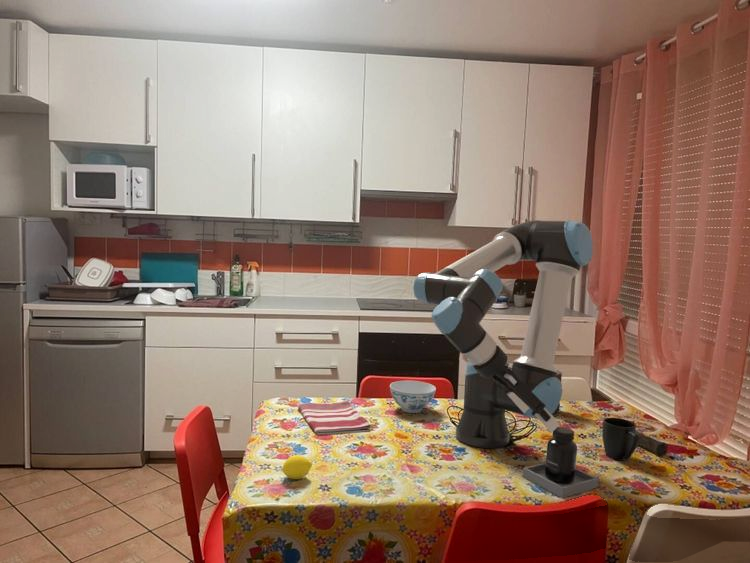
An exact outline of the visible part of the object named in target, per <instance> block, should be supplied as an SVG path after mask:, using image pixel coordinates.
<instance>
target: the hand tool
mask: <svg viewBox="0 0 750 563" xmlns="http://www.w3.org/2000/svg"><path fill="white" fill-rule="evenodd" d="M636 433H637V434H638V435H639V443H638V445H637V446H639V447H641V448H644V449H645V450H647V451H650V452H652V453H655V455H656V457H663V456H666V454H667V453H668V447H669V445H668V444H667V443H666V442H663V441H662V442H661V441H659V440H657V439H655V438H654V437H651V436H648V435H645V434H643V433H641V432H639V431H636Z"/></svg>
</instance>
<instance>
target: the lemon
mask: <svg viewBox="0 0 750 563" xmlns="http://www.w3.org/2000/svg"><path fill="white" fill-rule="evenodd" d="M312 465H313V463H312V462H311V461H310V460H309V458H307V457H305V456H304V455H302V454H301V455H299V454H295V455H294V454H293V455H291V456H290V457H288V458H287V459H286V460H285V461H284V463H283V465H282V468H281V471H282V472H283V474H284V475H285V476H286V477H287V478H288V479H291V480H300V479H303V478H305V477H306V476H307V475H308V474H309V472H310V470H311V468H312Z"/></svg>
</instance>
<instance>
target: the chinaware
mask: <svg viewBox="0 0 750 563" xmlns="http://www.w3.org/2000/svg"><path fill="white" fill-rule="evenodd" d="M389 389H390V390H389V391H390V394H391V397H392V399H393V401H394V402H395V404H397V405H398V406H399V407H400V408H401V410H402V411H403V412H406V413H409V414H418V413H421V412H422V410H423V409H424V408H425V407H427V406H428V405H429V404H430V403H431V402H432V400H434V396H435V394H436V390H437V388H436V386H435V385H433V384H431V383H429V382H424V381H418V380H399V381H394V382H391V383H390V385H389Z"/></svg>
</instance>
